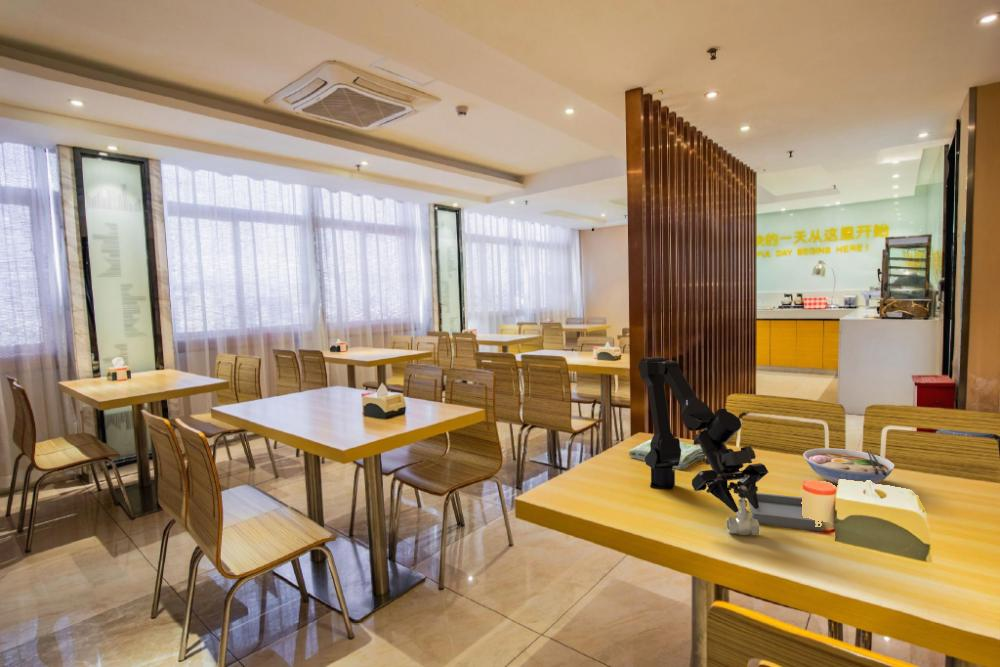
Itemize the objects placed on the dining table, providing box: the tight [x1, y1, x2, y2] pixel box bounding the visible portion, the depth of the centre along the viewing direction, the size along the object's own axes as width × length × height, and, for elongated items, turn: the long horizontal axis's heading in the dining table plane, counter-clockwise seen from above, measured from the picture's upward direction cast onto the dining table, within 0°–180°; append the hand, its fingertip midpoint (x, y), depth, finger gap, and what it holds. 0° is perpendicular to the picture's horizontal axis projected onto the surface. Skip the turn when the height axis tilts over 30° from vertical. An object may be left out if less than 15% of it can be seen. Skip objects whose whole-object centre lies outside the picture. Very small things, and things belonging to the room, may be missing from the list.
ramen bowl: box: [802, 447, 896, 485], centre depth 153 cm, size 25×23×8 cm
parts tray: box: [748, 492, 824, 532], centre depth 133 cm, size 15×15×2 cm
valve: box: [725, 480, 760, 536], centre depth 122 cm, size 7×7×12 cm
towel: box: [628, 438, 706, 470], centre depth 182 cm, size 18×21×5 cm
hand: (747, 510), depth 121 cm, fingers closed on valve, 5 cm apart
